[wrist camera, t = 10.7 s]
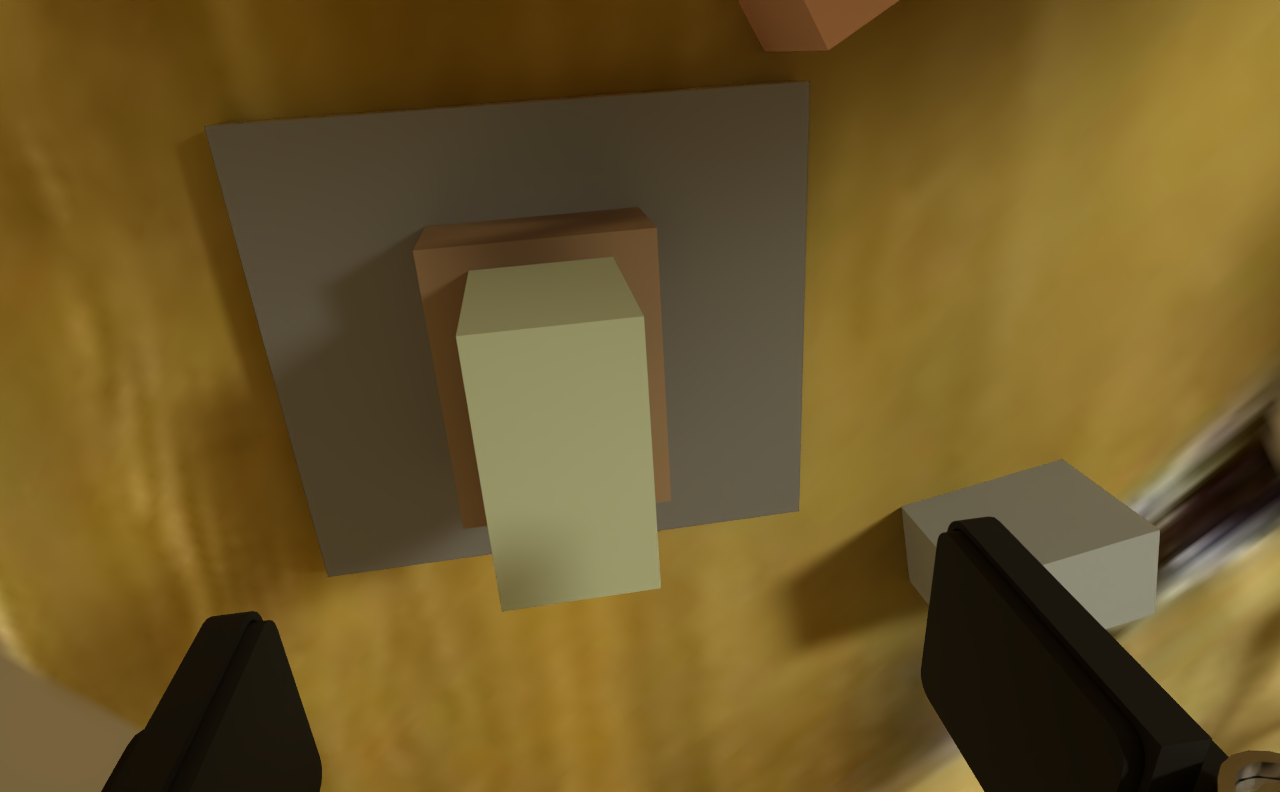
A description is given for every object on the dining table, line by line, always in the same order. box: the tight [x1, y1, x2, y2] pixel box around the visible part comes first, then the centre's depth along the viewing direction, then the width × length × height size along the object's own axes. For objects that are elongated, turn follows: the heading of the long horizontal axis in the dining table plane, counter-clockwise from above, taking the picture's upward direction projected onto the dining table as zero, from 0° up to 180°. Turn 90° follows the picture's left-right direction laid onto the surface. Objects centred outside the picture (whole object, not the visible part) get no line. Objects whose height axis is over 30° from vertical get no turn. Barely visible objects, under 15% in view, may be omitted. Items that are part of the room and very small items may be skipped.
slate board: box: [204, 80, 810, 577], centre depth 24 cm, size 16×14×1 cm
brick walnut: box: [413, 207, 671, 529], centre depth 22 cm, size 6×8×3 cm
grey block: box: [901, 459, 1160, 629], centre depth 28 cm, size 6×4×5 cm, turn 104°
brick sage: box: [456, 257, 661, 611], centre depth 18 cm, size 6×4×5 cm, turn 4°
